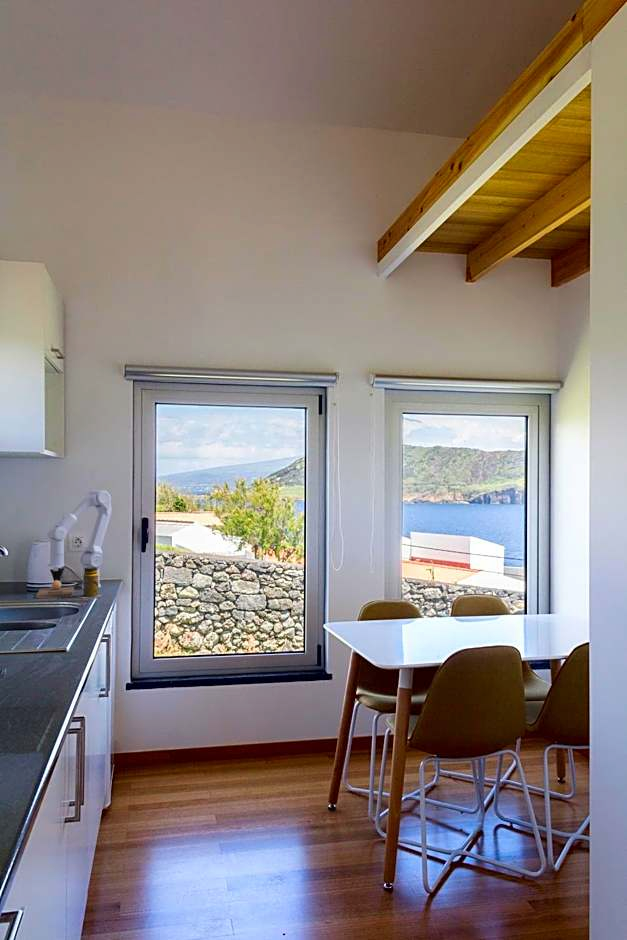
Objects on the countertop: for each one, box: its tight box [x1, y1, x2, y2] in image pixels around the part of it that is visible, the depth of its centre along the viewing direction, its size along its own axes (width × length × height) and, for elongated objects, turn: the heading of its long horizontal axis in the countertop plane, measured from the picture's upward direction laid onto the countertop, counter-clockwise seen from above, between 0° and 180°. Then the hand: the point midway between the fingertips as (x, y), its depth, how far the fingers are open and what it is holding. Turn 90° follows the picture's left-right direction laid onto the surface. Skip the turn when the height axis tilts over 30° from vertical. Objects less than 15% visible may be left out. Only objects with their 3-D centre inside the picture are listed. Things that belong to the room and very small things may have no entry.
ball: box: [51, 580, 62, 590], centre depth 345 cm, size 4×4×4 cm
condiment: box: [75, 567, 102, 599], centre depth 337 cm, size 7×8×12 cm
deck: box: [35, 586, 75, 599], centre depth 341 cm, size 18×14×2 cm
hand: (57, 585), depth 349 cm, fingers closed
